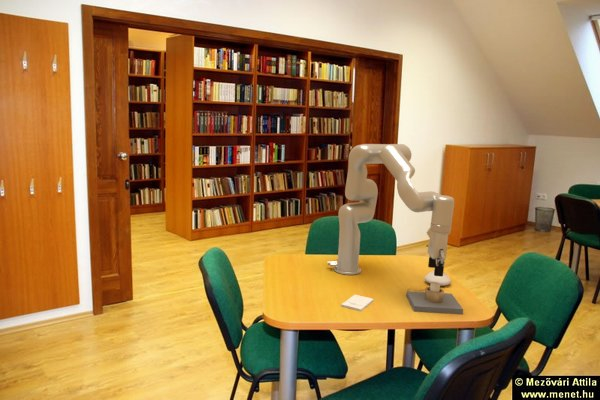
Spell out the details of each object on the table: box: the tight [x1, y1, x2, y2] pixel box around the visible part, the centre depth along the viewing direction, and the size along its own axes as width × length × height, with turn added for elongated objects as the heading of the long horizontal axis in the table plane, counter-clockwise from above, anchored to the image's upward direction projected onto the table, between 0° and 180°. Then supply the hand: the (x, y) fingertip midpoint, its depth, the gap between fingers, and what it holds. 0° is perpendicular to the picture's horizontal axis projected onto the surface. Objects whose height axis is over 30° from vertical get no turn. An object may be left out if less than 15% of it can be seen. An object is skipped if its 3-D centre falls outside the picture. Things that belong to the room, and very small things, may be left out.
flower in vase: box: [423, 227, 452, 287], centre depth 212 cm, size 13×11×25 cm
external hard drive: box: [340, 294, 375, 312], centre depth 186 cm, size 2×8×12 cm
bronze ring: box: [424, 286, 445, 303], centre depth 188 cm, size 7×7×4 cm
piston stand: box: [405, 282, 464, 315], centre depth 188 cm, size 18×16×8 cm
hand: (435, 271), depth 187 cm, fingers open, 9 cm apart
